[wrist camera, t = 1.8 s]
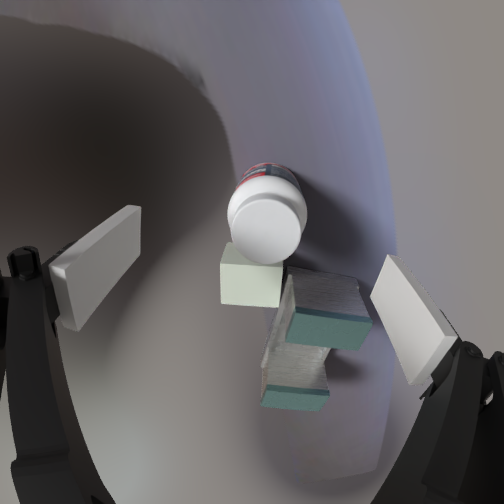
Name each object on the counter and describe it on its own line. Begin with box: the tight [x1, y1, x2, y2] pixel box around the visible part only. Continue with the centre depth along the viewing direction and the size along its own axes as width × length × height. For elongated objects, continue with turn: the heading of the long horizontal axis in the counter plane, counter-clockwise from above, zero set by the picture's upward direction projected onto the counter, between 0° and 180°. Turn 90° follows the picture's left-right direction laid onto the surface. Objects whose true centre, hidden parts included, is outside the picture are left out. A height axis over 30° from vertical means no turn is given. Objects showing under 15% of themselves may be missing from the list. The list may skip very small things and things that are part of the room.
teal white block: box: [260, 266, 373, 411], centre depth 26 cm, size 13×7×7 cm, turn 170°
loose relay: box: [220, 242, 283, 308], centre depth 25 cm, size 4×5×4 cm
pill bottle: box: [228, 163, 307, 264], centre depth 20 cm, size 5×5×9 cm
